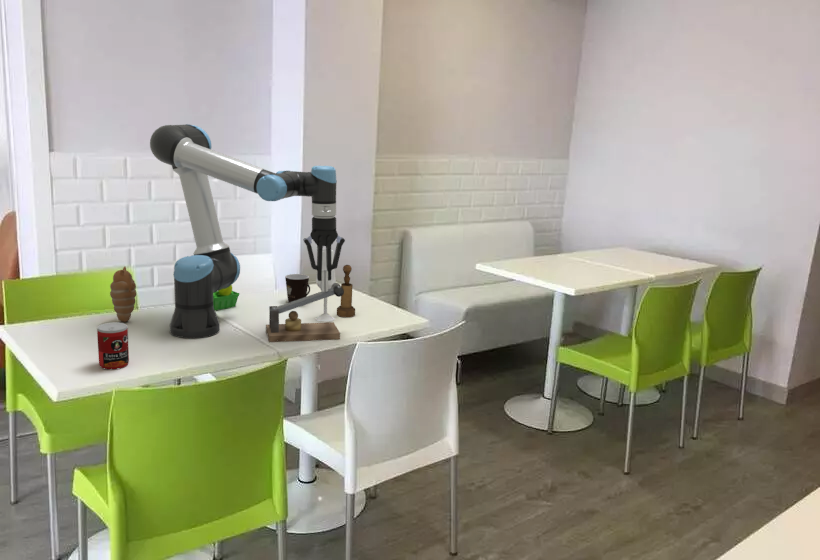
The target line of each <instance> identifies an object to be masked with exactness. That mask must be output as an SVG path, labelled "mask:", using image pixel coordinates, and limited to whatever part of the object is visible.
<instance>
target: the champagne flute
mask: <svg viewBox="0 0 820 560" xmlns="http://www.w3.org/2000/svg"><path fill="white" fill-rule="evenodd" d="M334 254H335V250H333V249H331V265H332V264H333V259H334ZM325 269H327V266H326V248H323V250H322V270H325ZM336 281H337V280H336V269H332V271H331V280H328V289H330V288H331V286H332V285H333V284H334V283H337V282H336ZM315 283H316V285H317V287H318V288H319V289H320V290H321V281H318V279H317V276H316V279H315ZM315 320H316V321H318V322H322V323H328V322H334V321H335V320H336V318H335V317H333V316H332V315H330V314H329V313H328V297H326V298H323V313H322V314H320V315H318V316H317V317H315Z"/></svg>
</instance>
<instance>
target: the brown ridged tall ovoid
mask: <svg viewBox="0 0 820 560" xmlns="http://www.w3.org/2000/svg"><path fill="white" fill-rule="evenodd" d="M109 287H110V292H109V294H110V295H109V297H110V298H111V303H112V305H113V310H114V312H115V313H116V317H117V319H118V321H120V323H127V322H128V321H130V319H131V317H132V313H133V312H134V309H135V304H136V296H137V290H136V288H137V284H136V282H135V280H134V278H133V275H132V274H131V272H130V271H129V270H127V267H126V266H124V267H123V268H122V269H119V270H116V271H115V272H114V274H113V275H112V282H111V283H110V285H109Z"/></svg>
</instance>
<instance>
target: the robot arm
mask: <svg viewBox="0 0 820 560" xmlns="http://www.w3.org/2000/svg"><path fill="white" fill-rule="evenodd" d="M149 148H150V151H151V153H152V155H153V156H154V158H156V159H157V160H158V161H160V162H161V163H164V164H167V165H170V166H171V167H172V168H171V169H172V171H173V172H174V173H176V174H178V175H179V180H180V184H181V188H182V193H183V196H184V201H185V204H186V208H187V213H188V216H189V221H190V225H191V229H192V230H191V231H192V233H193V239H194V241H195V246H196V248H195V250H194V252H193V255H190V256H189V255H187V256H183V257H181V258H179V259H177V260H176V261H175V262H174V267H173V283H174V286H173V287H174V311H173V314H172V317H171V319H170V323H169V333H170V334H171V335H172V336H174V337H177V338H183V339H200V338H208V337H210V336H211V337H212V336H214V335H216V334H218V333H219V332H220V330H221V329H220V321H219V318H218V316H217V313H216V311H215V310H214V305H213V293H214V292H216V291H219V290H221V289H225V288H227V287H229V286H230V285H232V286H233V284H234V283H235V282H236V281H237V280H238V278H239V276H240V274H241V264H240V262H239V261H240V260H239V259H238V257H237V256H236V255H235V254H234V253H233V252H231V249H230V245H228V244H227V243H225V242H224V239H223V235H222V232H221V227H220V224H219V223H220V222H219V219H218V213H217V210H216V205H215V202H214V198H213V194H212V189H211V185H210V181H209V177H212V178H214V179H217V180H219V181H222V182H225V183H227V184H229V185H233V186H236V187H238V188H241V189H244V190H247V191H249V192H252V193H255V194H258V196H259V197H260V198H261V200H264V201H266V202H278V201H281V200H283V199H287V198H292V197H311V215H312V218H311V232H310V234H309V236H308V237H306V238H303V243H304V244H305V245H306V250H307V253H308V258H309V264H310V266H311V268H312V270H314V271H317V272H316V277H317V279H318V281H321V289H320V292H321V291H322V292H324V290H325V291H328V280H331V271H332V269H335V270H336V269H337V268H338V264H339V261H340V260H339V259H340V256H341V252H342V247H343V245H344V243H345V242H346V238H344V237H341V236H340V235H339V234H338V231H337V217H336V216H337V171H336V170H337V169H336V168H335V167H334V166H331V165H314V166H312V167H311V170H310V171H293V170H292V171H291V170H279V171H276V173H275V172H272V171H270V170H267V169H265V168H262V167H260V166H257V165H254V164H251V163H248V162H246V161H243V160H240V159H239V158H235V157H233V156H229V155H227V154H224V153H221V152H219V151H216V150H214V149H212V141H211V138H210V136H209V134H208V133H207V132H206V130H204V129H203V128H202V127H200V126H198V125H193V124H188V123H187V124H165V125H162V126H160V127H158V128H157V129H155V130H154V131H153V132H152V134H151V136H150V141H149ZM312 240H313V241H312ZM335 241H336V245H335V250H334V259H333V264H332V265H331V250H332V245H333V244H334V243H335ZM313 242H314V243H315V245H316V246H317V247H316V248H317V249H316V250H317V251H316V260H315V257H314V251H313V247H312V243H313ZM324 247H325V249H326V266H327V269H325V270H322V250H323V249H324Z"/></svg>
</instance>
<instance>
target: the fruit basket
mask: <svg viewBox="0 0 820 560" xmlns="http://www.w3.org/2000/svg"><path fill="white" fill-rule="evenodd" d="M239 295H240V292H237V291H235V290H233V284H232V285H230V286H229V287H227V288H225V289H221V290H219V291H216V292H214V293H213V305H214V310H216V311H219V310H225V309H231V308H235V307H236V305H237V302H238V299H239V297H240V296H239Z"/></svg>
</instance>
